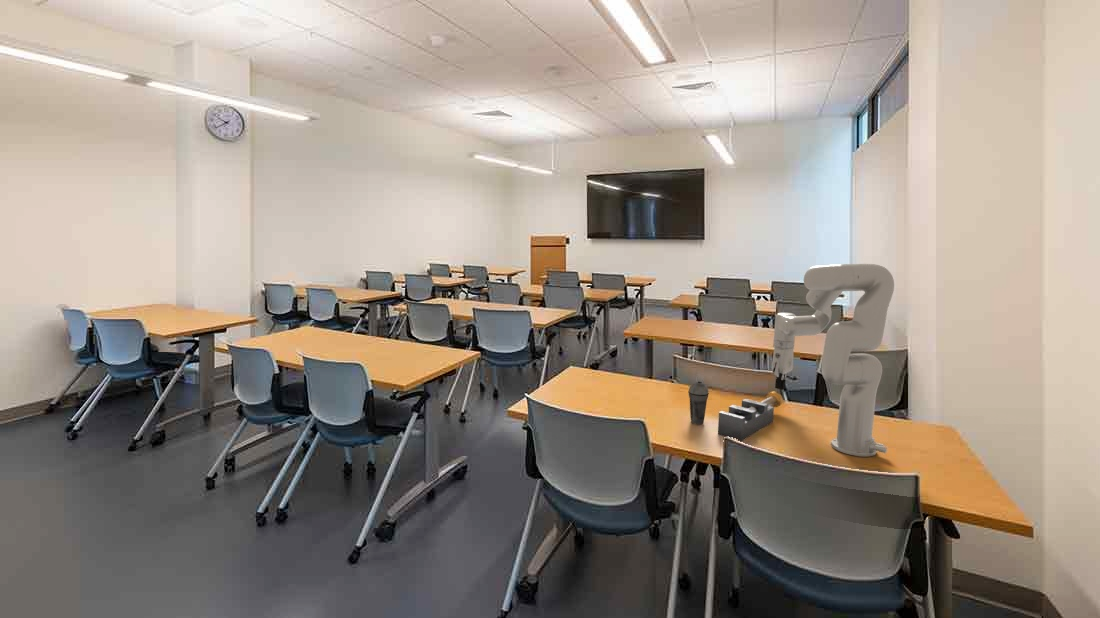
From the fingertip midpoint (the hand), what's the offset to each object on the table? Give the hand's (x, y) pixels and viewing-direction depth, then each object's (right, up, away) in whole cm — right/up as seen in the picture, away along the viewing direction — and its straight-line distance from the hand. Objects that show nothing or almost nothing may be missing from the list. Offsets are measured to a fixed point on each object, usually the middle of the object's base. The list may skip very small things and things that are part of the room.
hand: (779, 388), depth 197 cm
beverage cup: (-37, -11, -14) cm, 41 cm away
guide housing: (-21, -11, -19) cm, 31 cm away
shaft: (-13, -8, -12) cm, 19 cm away
